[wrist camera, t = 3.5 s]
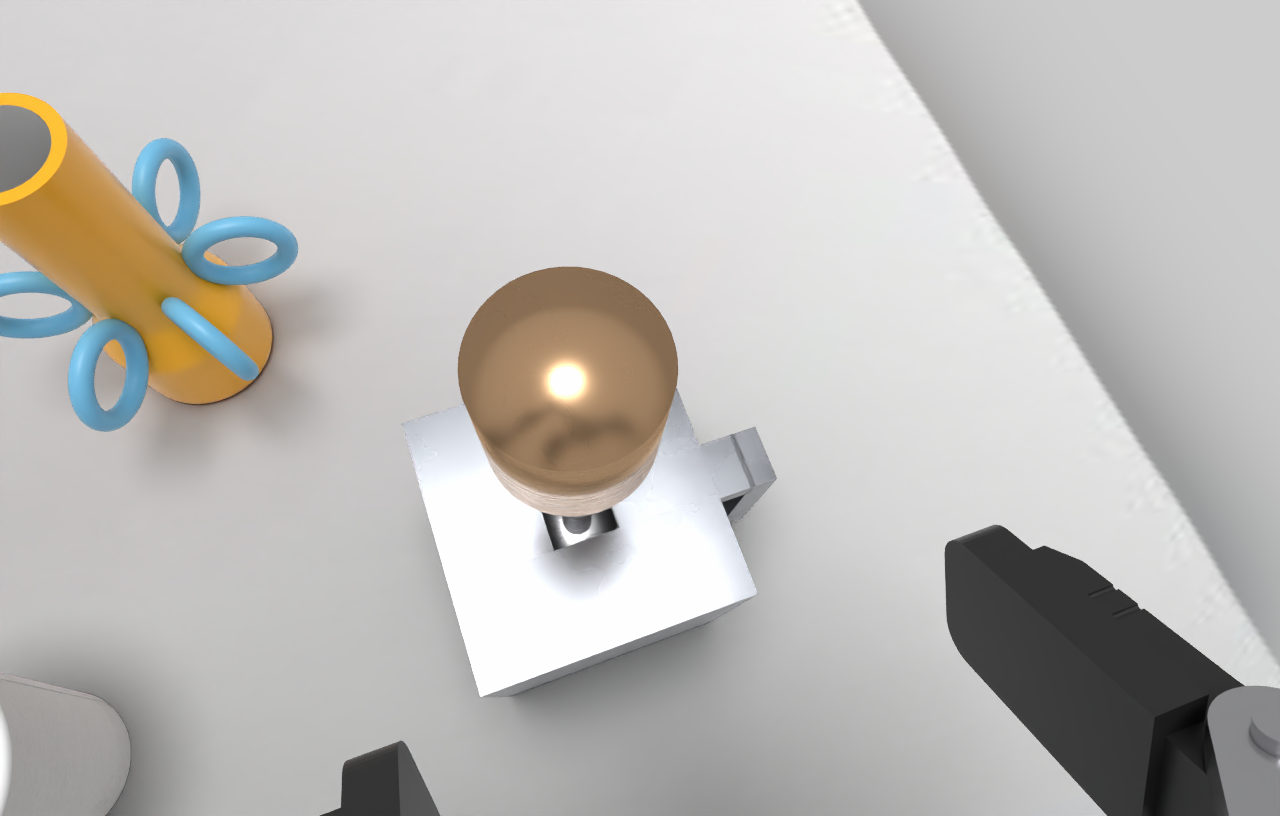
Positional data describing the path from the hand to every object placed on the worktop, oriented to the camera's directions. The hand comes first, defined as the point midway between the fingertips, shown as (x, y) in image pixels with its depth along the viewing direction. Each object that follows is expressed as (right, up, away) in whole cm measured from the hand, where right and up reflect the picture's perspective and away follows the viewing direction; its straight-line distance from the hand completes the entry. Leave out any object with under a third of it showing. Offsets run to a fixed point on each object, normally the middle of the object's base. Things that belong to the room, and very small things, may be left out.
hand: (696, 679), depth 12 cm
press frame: (-2, -2, +26) cm, 26 cm away
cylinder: (-21, +7, +28) cm, 35 cm away
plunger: (-3, 0, +18) cm, 18 cm away
